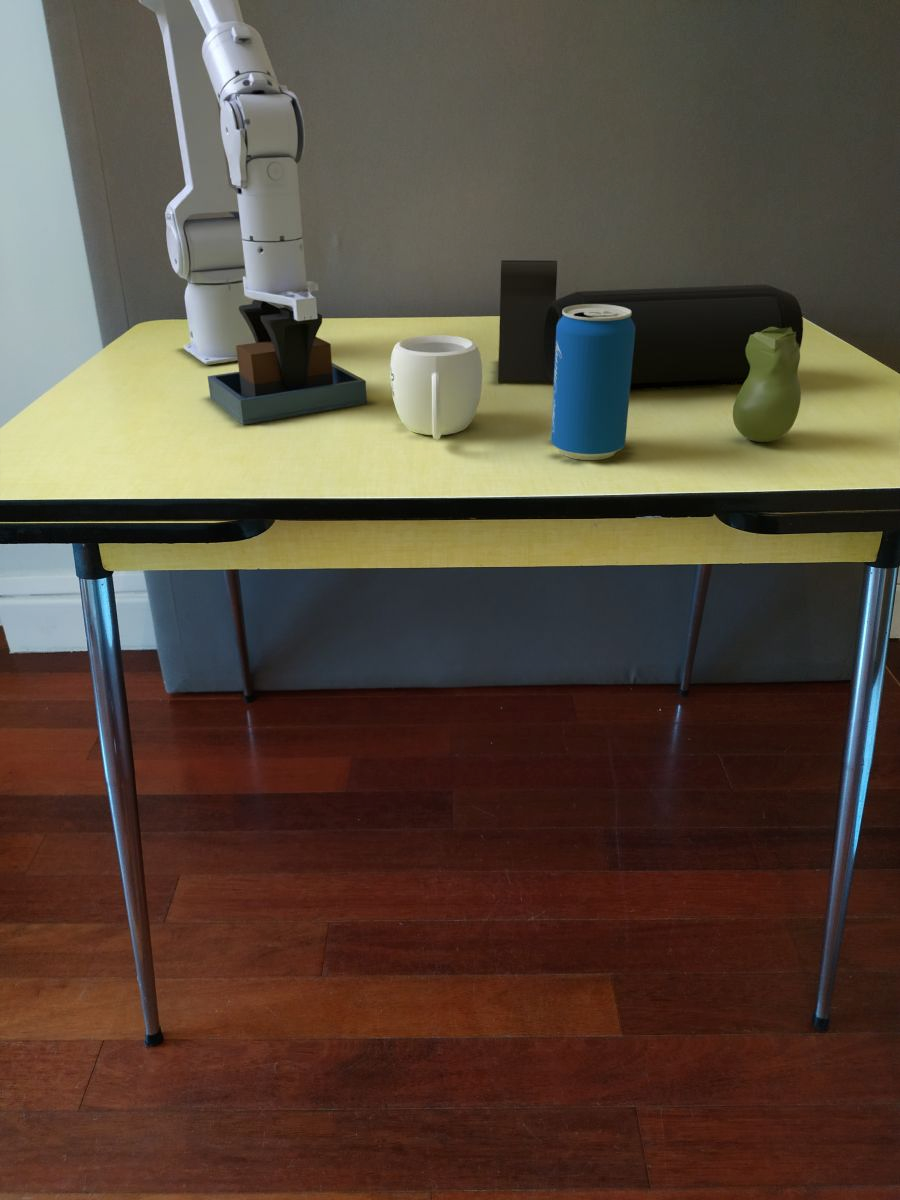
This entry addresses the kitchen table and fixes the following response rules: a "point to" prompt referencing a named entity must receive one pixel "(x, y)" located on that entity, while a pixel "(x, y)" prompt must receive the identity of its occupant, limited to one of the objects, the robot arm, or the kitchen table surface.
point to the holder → (287, 397)
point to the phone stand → (524, 319)
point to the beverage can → (592, 380)
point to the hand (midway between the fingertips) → (286, 380)
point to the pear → (769, 386)
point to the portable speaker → (687, 330)
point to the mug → (436, 383)
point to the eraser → (264, 372)
